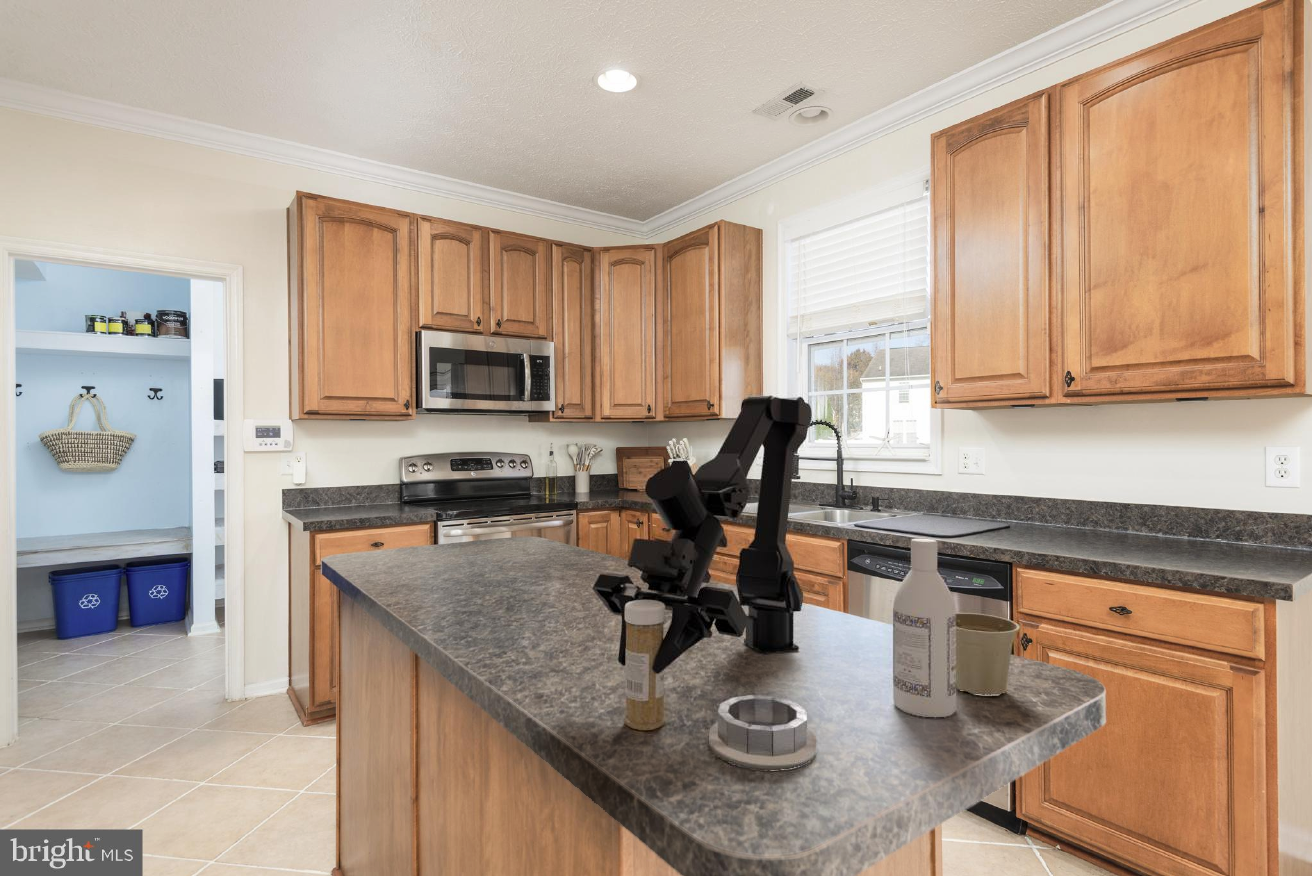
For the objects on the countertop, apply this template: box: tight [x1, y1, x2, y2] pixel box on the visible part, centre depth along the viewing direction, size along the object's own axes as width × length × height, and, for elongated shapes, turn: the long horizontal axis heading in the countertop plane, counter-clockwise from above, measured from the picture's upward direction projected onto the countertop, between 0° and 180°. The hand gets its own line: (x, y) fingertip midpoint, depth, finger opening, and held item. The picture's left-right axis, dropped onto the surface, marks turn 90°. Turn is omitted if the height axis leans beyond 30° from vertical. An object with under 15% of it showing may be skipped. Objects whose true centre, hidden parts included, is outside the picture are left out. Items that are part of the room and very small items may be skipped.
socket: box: [708, 694, 818, 772], centre depth 69 cm, size 11×11×4 cm
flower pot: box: [956, 612, 1021, 695], centre depth 85 cm, size 9×9×9 cm
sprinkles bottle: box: [624, 600, 666, 731], centre depth 75 cm, size 5×5×14 cm
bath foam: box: [892, 538, 957, 719], centre depth 79 cm, size 7×7×20 cm
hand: (637, 667), depth 73 cm, fingers closed on sprinkles bottle, 4 cm apart
